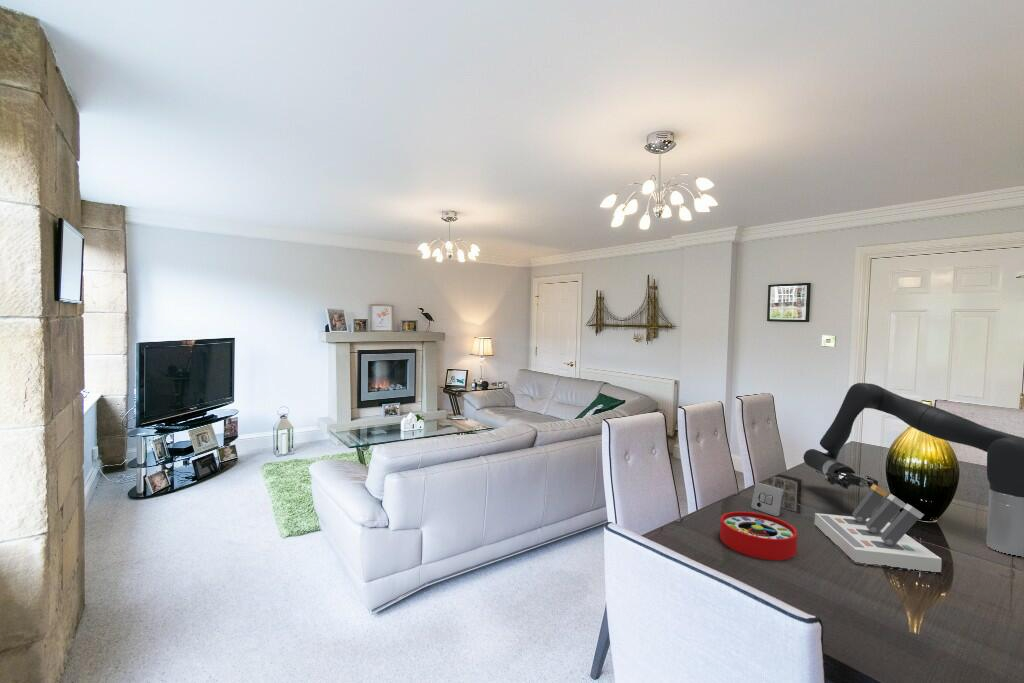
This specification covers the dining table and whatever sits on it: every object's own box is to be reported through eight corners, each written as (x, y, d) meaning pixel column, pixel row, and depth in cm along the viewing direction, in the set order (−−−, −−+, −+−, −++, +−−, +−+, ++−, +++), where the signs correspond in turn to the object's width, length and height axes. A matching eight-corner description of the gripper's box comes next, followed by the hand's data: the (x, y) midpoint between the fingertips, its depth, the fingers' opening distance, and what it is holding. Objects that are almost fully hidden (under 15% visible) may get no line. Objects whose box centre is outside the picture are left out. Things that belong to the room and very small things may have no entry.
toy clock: (715, 528, 135) (725, 506, 152) (715, 548, 135) (724, 524, 152) (797, 546, 125) (797, 521, 142) (796, 568, 125) (796, 540, 142)
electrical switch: (750, 508, 166) (752, 482, 166) (757, 507, 169) (760, 481, 169) (777, 517, 159) (780, 490, 159) (785, 516, 162) (787, 489, 162)
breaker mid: (872, 532, 139) (901, 501, 137) (877, 536, 136) (906, 504, 135) (862, 525, 140) (890, 493, 138) (867, 528, 137) (895, 496, 135)
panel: (884, 532, 149) (885, 518, 149) (940, 574, 123) (941, 557, 123) (814, 525, 153) (815, 512, 153) (854, 564, 127) (855, 548, 127)
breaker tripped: (859, 521, 147) (883, 490, 145) (863, 525, 144) (888, 492, 143) (849, 515, 147) (873, 483, 146) (853, 518, 145) (877, 486, 143)
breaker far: (888, 544, 131) (918, 511, 129) (893, 548, 129) (924, 514, 127) (877, 536, 132) (906, 503, 130) (882, 540, 129) (912, 506, 127)
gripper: (817, 460, 172) (838, 474, 156) (861, 464, 169) (886, 478, 153) (816, 481, 173) (836, 496, 157) (860, 484, 170) (885, 500, 154)
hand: (861, 487), depth 155 cm, fingers open, 8 cm apart
